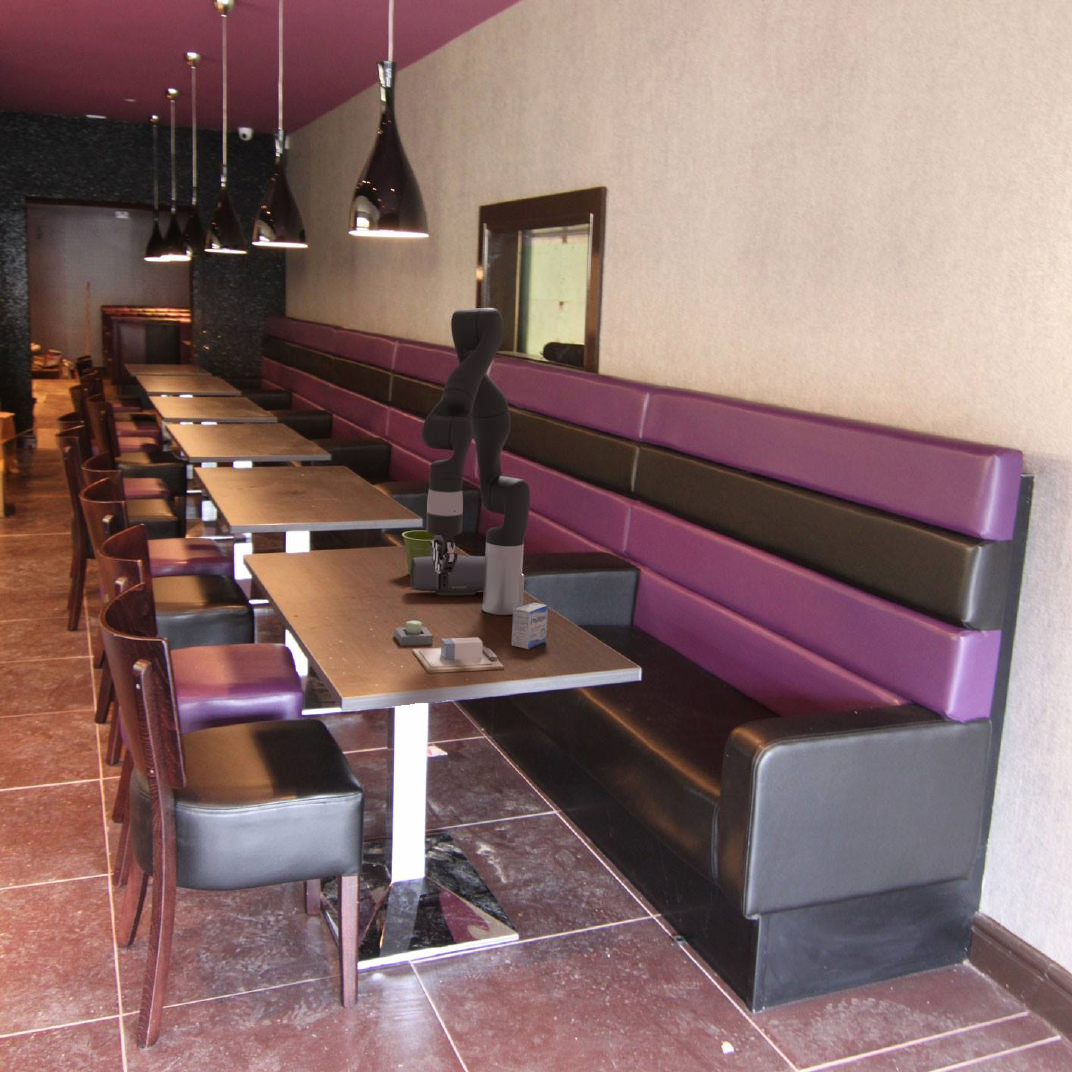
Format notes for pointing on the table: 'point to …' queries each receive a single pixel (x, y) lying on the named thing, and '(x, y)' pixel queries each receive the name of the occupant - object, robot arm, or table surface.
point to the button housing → (413, 637)
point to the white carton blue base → (461, 648)
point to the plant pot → (417, 545)
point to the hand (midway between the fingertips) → (441, 589)
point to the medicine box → (529, 625)
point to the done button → (413, 627)
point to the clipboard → (456, 661)
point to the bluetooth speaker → (449, 575)
